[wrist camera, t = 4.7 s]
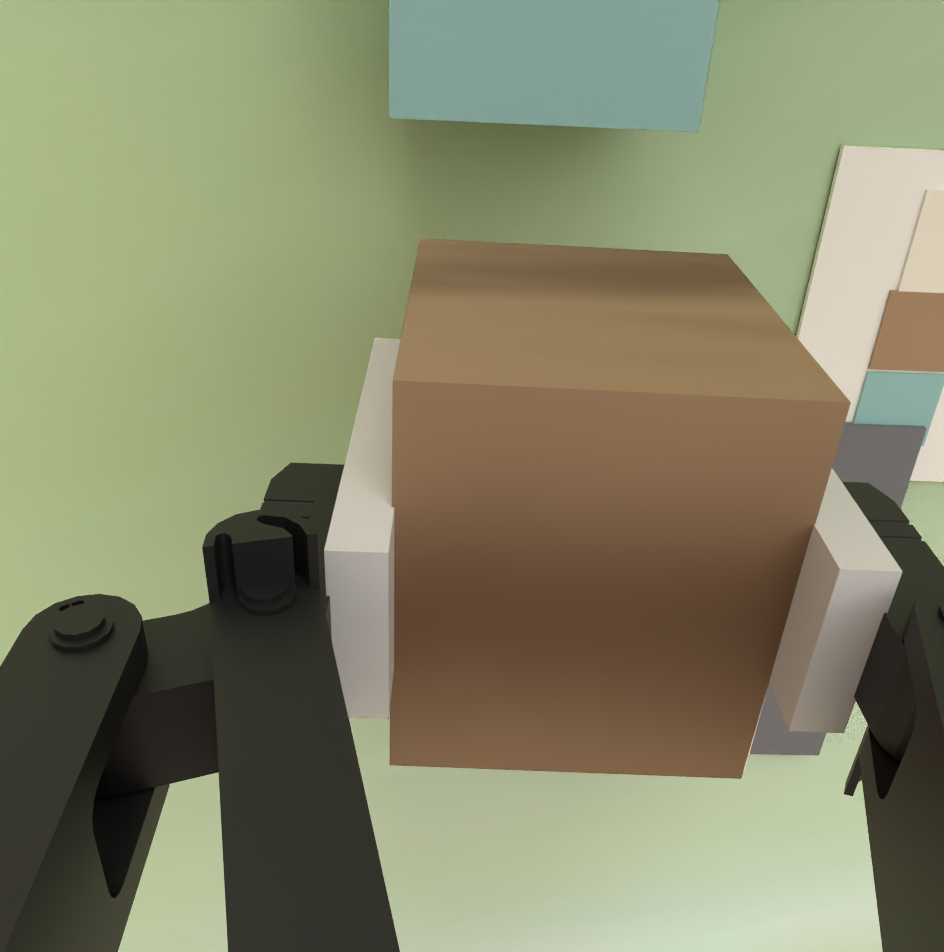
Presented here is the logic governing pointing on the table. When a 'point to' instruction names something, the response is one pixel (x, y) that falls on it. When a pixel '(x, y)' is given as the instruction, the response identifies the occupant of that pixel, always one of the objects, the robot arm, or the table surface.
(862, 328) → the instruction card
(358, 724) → the table surface
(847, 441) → the mat
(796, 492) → the walnut brick
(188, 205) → the table surface
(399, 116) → the teal brick
